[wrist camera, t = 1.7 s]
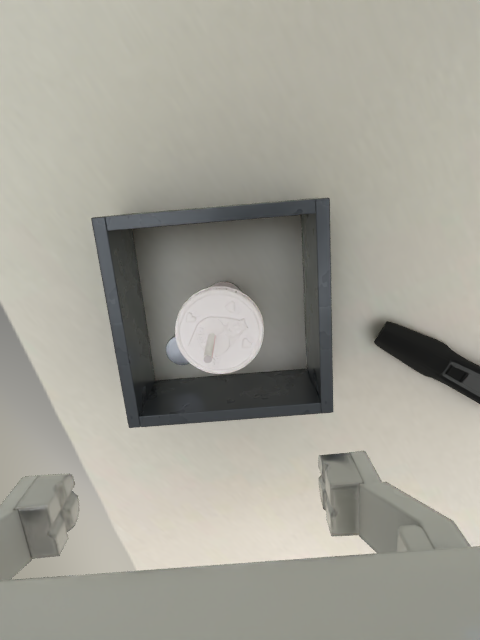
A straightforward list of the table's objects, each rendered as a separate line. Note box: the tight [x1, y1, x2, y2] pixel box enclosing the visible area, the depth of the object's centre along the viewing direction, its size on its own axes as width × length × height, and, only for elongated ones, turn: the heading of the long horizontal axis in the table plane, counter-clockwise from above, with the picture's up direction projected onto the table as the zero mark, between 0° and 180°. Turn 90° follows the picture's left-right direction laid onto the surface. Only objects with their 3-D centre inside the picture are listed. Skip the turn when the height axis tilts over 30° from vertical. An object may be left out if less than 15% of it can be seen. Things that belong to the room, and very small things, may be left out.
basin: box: [92, 198, 333, 428], centre depth 34 cm, size 17×17×7 cm
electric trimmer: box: [374, 322, 480, 404], centre depth 38 cm, size 4×16×3 cm, turn 62°
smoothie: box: [175, 282, 264, 374], centre depth 31 cm, size 6×6×14 cm
